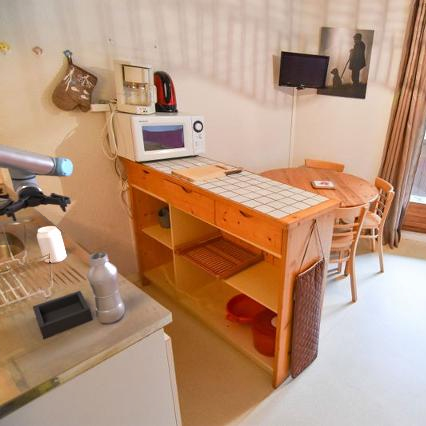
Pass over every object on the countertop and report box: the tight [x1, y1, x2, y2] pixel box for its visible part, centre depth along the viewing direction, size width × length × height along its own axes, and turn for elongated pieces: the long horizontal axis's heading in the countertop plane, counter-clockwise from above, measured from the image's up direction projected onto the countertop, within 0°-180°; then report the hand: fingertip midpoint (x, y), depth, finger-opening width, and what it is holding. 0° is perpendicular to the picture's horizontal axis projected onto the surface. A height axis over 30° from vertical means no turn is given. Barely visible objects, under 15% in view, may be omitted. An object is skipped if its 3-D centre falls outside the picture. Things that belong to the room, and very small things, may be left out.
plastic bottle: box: [86, 251, 126, 324], centre depth 84 cm, size 6×7×20 cm
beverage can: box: [36, 225, 67, 264], centre depth 108 cm, size 6×6×12 cm
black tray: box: [32, 290, 94, 340], centre depth 85 cm, size 10×10×4 cm
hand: (40, 212), depth 111 cm, fingers open, 13 cm apart
